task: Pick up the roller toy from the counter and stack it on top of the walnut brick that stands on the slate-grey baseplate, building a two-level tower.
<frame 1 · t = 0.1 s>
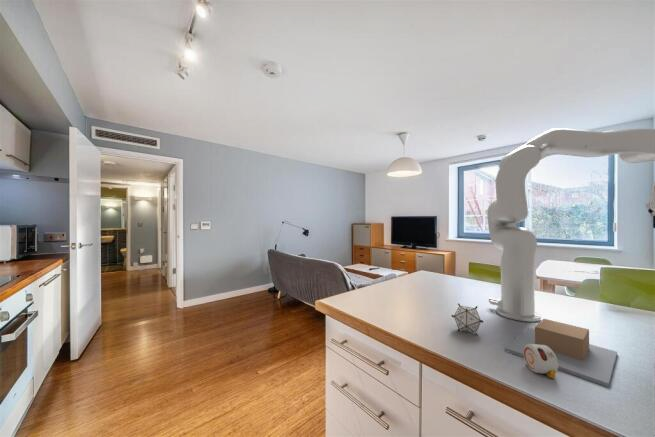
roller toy: (540, 372, 56), on the worktop
white geodesic ball toy: (467, 332, 76), on the worktop
tower base: (560, 352, 64), on the worktop
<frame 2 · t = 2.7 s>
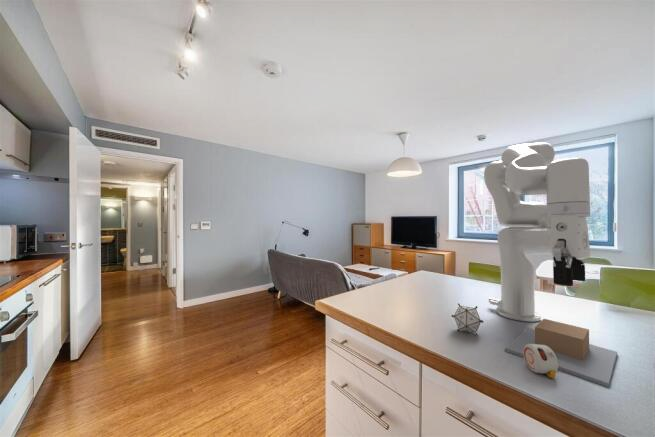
hand: (569, 282, 59), 19 cm above the worktop, tool pointing down, fingers open, 9 cm apart
nothing on the worktop moved.
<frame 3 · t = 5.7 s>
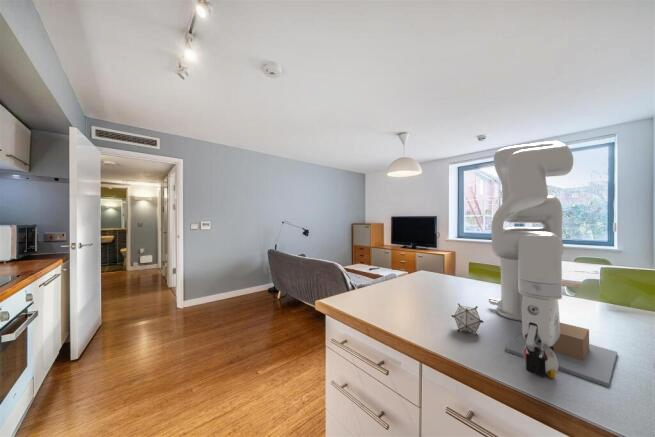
hand: (540, 367, 56), 1 cm above the worktop, tool pointing down, fingers closed on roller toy, 6 cm apart
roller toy: (540, 372, 56), on the worktop, touching gripper
everything else where it was.
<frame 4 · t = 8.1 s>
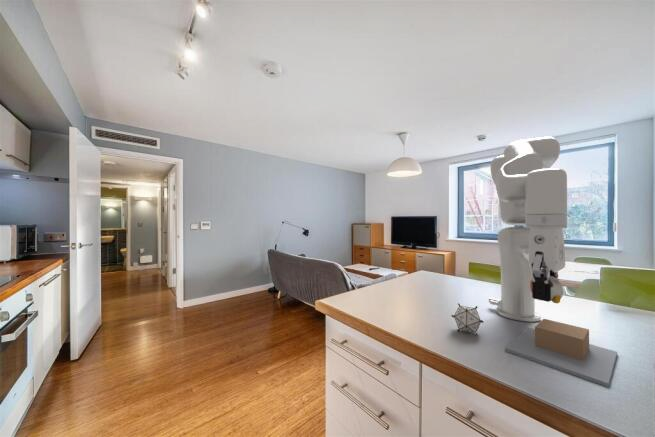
hand: (545, 296, 59), 16 cm above the worktop, tool pointing down, fingers closed on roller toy, 6 cm apart
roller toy: (545, 300, 59), point 15 cm above the worktop, touching gripper
everything else where it was.
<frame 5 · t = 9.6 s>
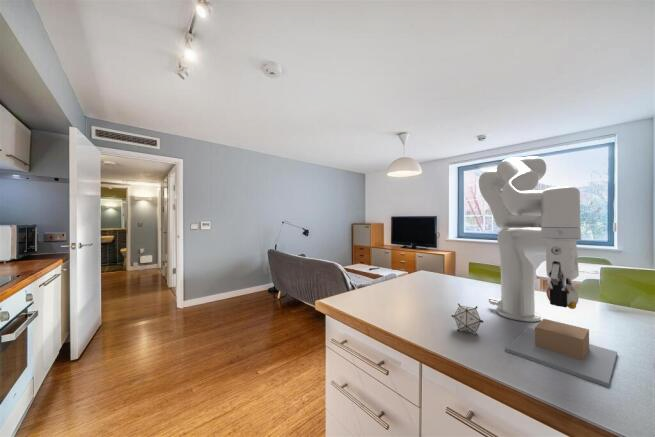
hand: (561, 302, 65), 13 cm above the worktop, tool pointing down, fingers closed on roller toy, 6 cm apart
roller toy: (561, 306, 65), point 11 cm above the worktop, touching gripper
everything else where it was.
when the fingers open (8 cm above the worktop, at t = 10.8 s): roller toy drops 1 cm, resting on tower base.
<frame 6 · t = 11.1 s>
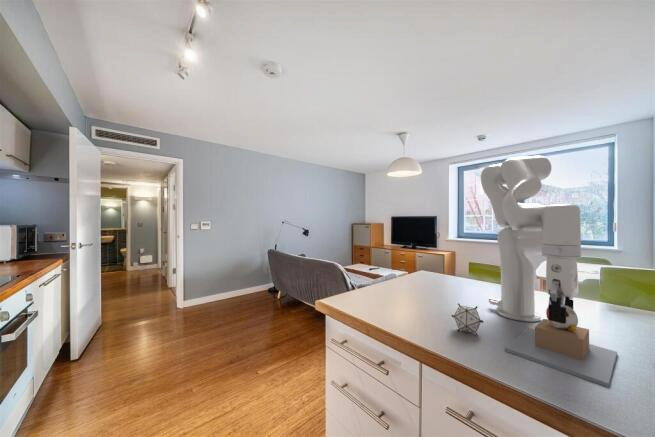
hand: (561, 317, 65), 9 cm above the worktop, tool pointing down, fingers open, 8 cm apart
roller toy: (561, 328, 65), point 6 cm above the worktop, touching tower base
everything else where it was.
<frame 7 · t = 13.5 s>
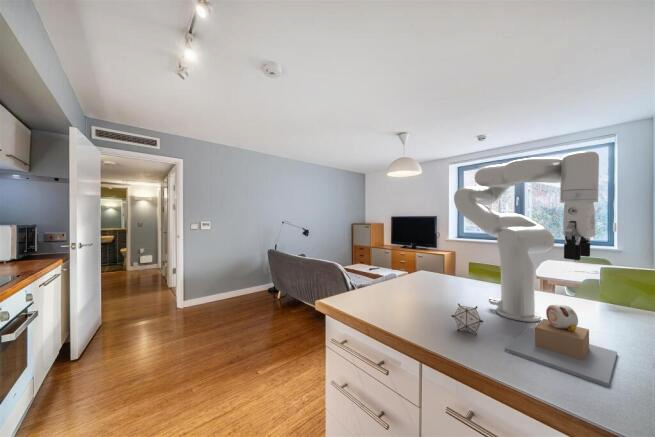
hand: (577, 257, 70), 23 cm above the worktop, tool pointing down, fingers open, 9 cm apart
nothing on the worktop moved.
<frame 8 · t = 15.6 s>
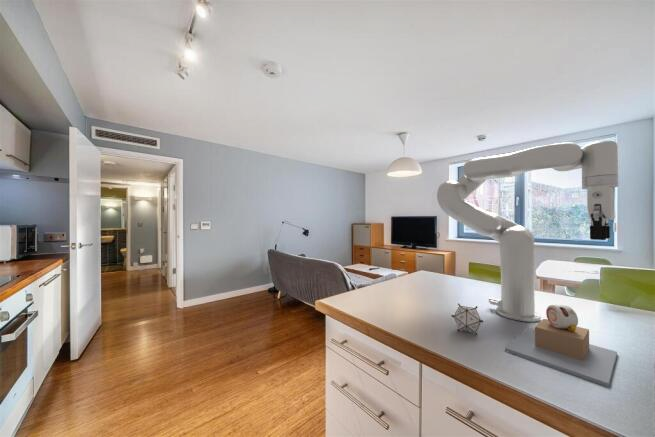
hand: (600, 238, 76), 28 cm above the worktop, tool pointing down, fingers open, 9 cm apart
nothing on the worktop moved.
at the end: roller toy inside the target area on the tower base (0.4 cm from its centre), point 5.6 cm above the tower base's base; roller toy touching tower base; the gripper is holding nothing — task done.
